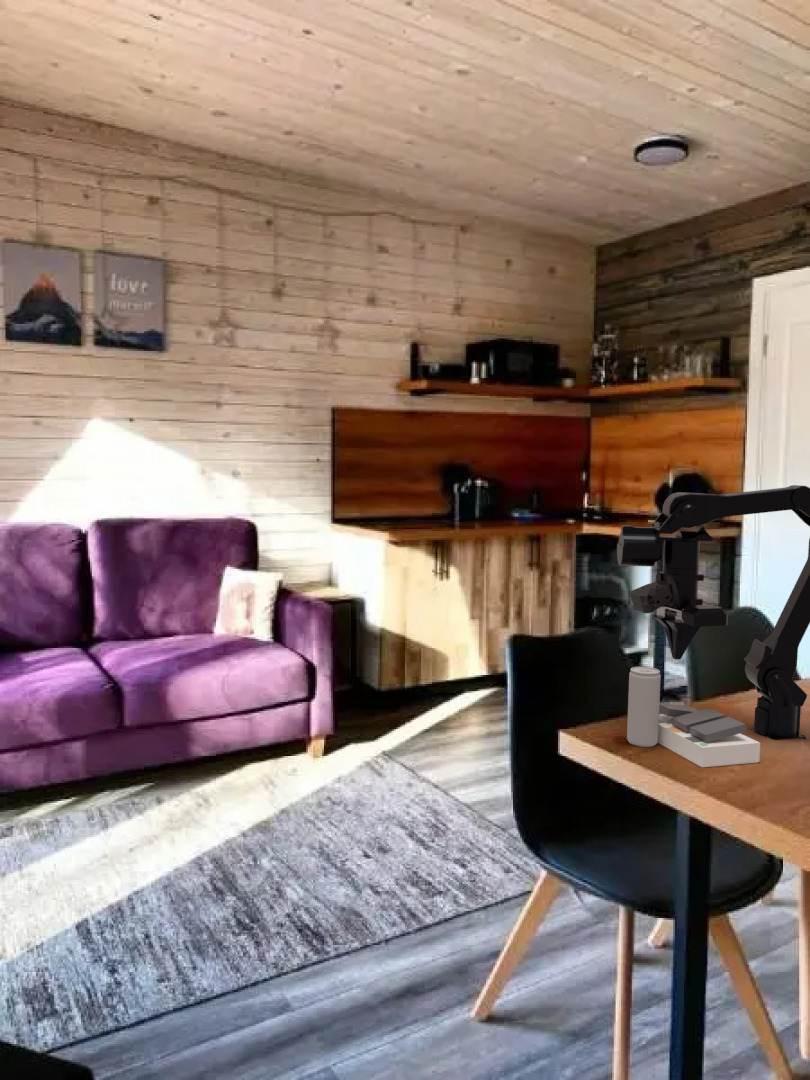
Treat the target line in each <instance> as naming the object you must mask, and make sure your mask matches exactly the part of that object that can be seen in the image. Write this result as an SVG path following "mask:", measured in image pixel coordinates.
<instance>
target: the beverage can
mask: <svg viewBox="0 0 810 1080" xmlns="http://www.w3.org/2000/svg"><path fill="white" fill-rule="evenodd" d="M660 673H661V671H660V670H659V669H658V668H654V667H649V666H648V667H647V666H634V667H631V668H630V672H629V674H628V675H629V676H628V678H629V679H628V697H627V699H628V701H627V702H628V703H627V723H626V724H627V729H626V740H627V741H628V743H629V744H630V745H633V746H636V747H641V748H653V747H654V746H656V745H657V744H659V743H658V728H659V714H660V712H659V704H660V703H661V702H660V701H661V699H660V698H661V681H662V680H661V674H660Z"/></svg>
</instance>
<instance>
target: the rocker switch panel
mask: <svg viewBox="0 0 810 1080" xmlns="http://www.w3.org/2000/svg"><path fill="white" fill-rule="evenodd" d="M671 718H673V717H671V716H667V715H665V714H663V713H659V728H658V743H657V744H660V745H661V746H663V747H665V748H667V749H668V750H669V751H672V752H674V753H675V754H677V755H679V756H681V757H683V758H685V760H688V762H689V761H690V762H691V763H693V764H695V765H697V766H699V767H701V768H709V767H721V766H723V767H724V766H733V765H743V764H744V765H745V764H754V763H755V764H756V763H760V761H761V760H760V756H761V742H759V741H758V740H755V739H753V738H751V737H749V736H747V735H745V734H743V733H740V734H736V735H732V736H729V737H725V738H722V739H718V740H714V741H711V742H707V743H706V742H704V741H702V740H700V739H698V738H696V737H694V736H692V735H691V733H690V732H688V733H686V732H685V731H683V730H681V729H679V728H677V727H675V726H673V725H672V719H671Z"/></svg>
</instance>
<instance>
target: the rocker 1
mask: <svg viewBox="0 0 810 1080" xmlns="http://www.w3.org/2000/svg"><path fill="white" fill-rule="evenodd" d="M696 711H700V709H697V708H695V707H692V706H689V705H680V704H674V703H673V704H671V703H665V702H660V704H659V713H660V714H665V715H667V716H671V717H677V716H681V715H685V714H688V713H692V712H696Z"/></svg>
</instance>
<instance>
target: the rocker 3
mask: <svg viewBox="0 0 810 1080" xmlns="http://www.w3.org/2000/svg"><path fill="white" fill-rule="evenodd" d="M690 733H691V735H692V736H694V737H696V738H698V739H700V740H702V741H704V742H706V743H707V742H711V741H714V740H718V739H722V738H725V737H729V736H732V735H736V734H743V733H747V727H746V724H745V722H744V723H743V721H739V720H737V719H736V718H735V719H734V718H733V717H731V716H727V717H726V716H725V718H722V719H718V720H715V721H711V722H707V723H704V724H700V725H696V726H693V727H690Z"/></svg>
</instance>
